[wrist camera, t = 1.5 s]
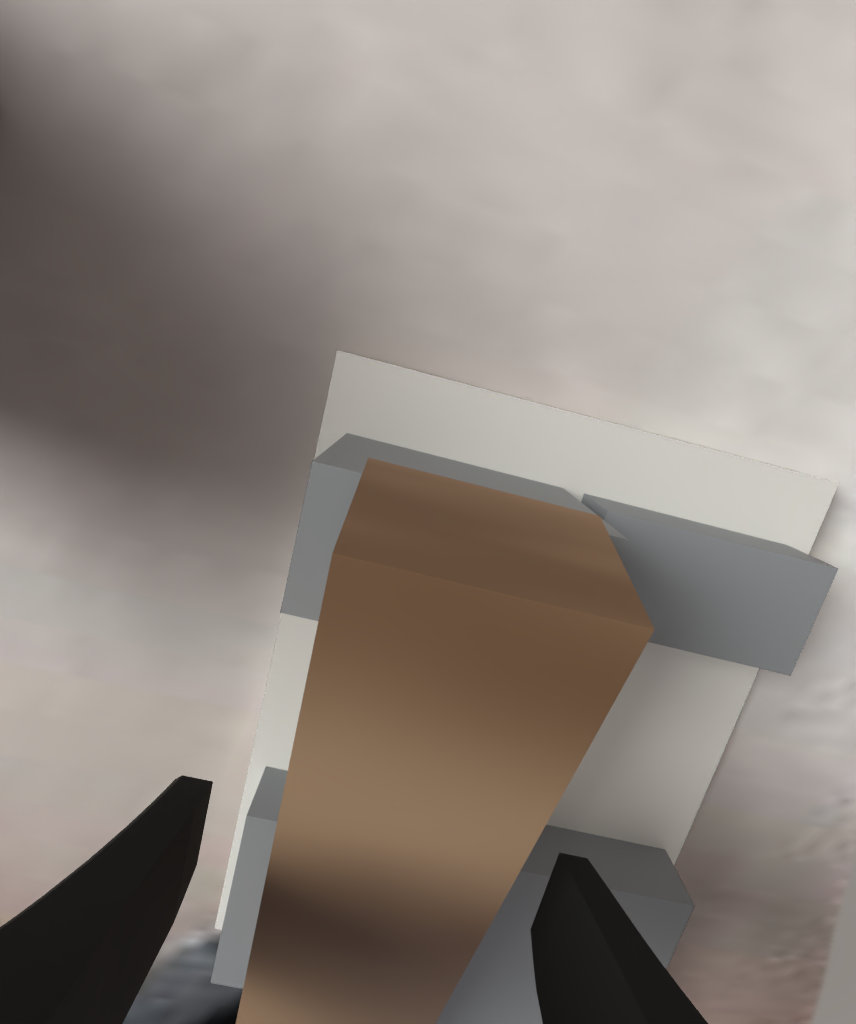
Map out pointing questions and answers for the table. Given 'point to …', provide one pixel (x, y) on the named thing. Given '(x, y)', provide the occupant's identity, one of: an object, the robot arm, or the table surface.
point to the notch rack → (647, 691)
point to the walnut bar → (432, 740)
